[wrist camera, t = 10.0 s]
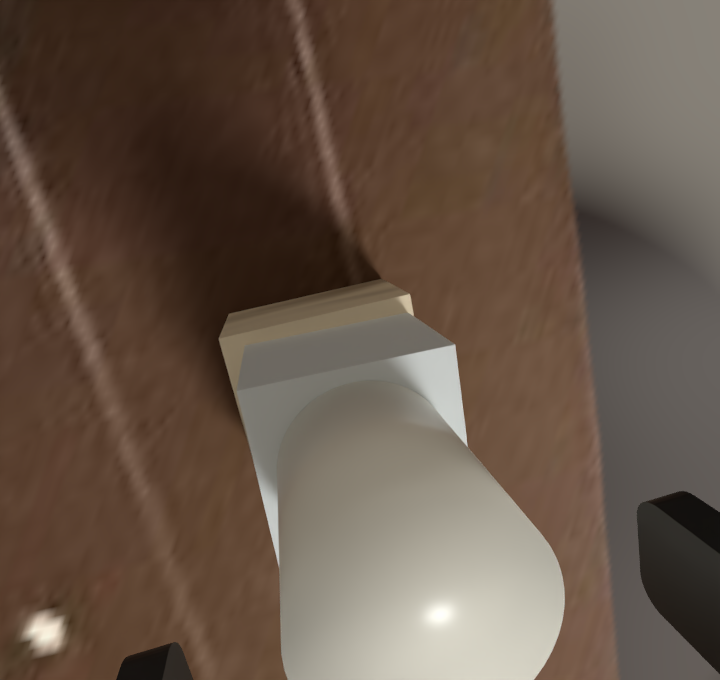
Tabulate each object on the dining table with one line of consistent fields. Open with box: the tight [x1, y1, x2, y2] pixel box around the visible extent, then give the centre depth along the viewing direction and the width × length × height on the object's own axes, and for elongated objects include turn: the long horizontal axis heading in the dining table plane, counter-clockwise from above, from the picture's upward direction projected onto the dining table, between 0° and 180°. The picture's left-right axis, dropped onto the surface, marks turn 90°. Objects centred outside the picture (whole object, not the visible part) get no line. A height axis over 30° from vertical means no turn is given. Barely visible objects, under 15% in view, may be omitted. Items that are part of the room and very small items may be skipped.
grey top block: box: [237, 313, 468, 565], centre depth 17 cm, size 6×6×5 cm
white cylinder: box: [277, 380, 565, 680], centre depth 12 cm, size 5×5×6 cm
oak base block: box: [219, 279, 414, 462], centre depth 22 cm, size 7×7×5 cm
